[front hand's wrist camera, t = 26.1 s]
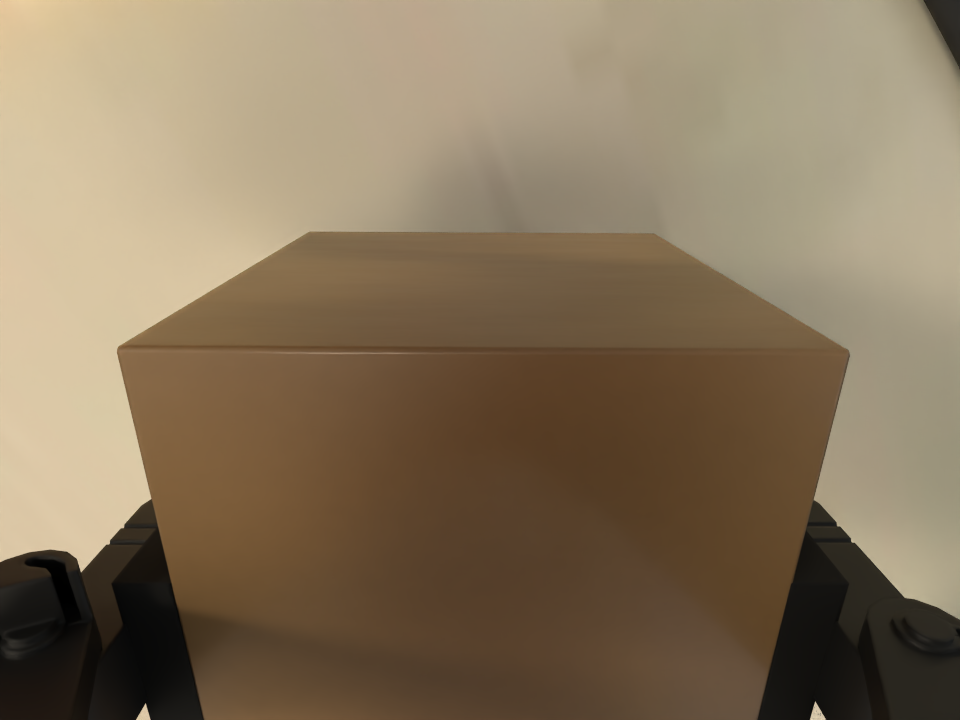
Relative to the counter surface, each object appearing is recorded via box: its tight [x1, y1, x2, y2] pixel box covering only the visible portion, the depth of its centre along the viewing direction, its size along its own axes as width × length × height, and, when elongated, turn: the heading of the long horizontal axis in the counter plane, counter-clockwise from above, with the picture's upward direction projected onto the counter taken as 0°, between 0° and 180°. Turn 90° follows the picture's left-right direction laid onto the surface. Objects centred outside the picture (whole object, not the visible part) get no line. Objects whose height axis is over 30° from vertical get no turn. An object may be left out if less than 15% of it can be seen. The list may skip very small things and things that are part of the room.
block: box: [117, 232, 850, 720], centre depth 12 cm, size 8×9×8 cm
